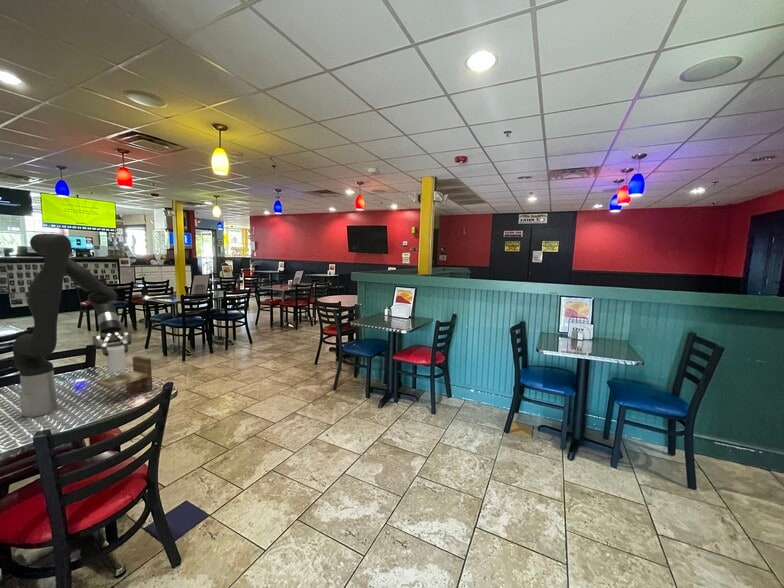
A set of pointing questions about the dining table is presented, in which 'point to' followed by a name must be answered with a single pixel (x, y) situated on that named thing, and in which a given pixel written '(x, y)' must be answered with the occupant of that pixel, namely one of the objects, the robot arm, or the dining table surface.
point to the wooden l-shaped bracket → (133, 377)
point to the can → (116, 357)
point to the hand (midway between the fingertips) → (116, 353)
